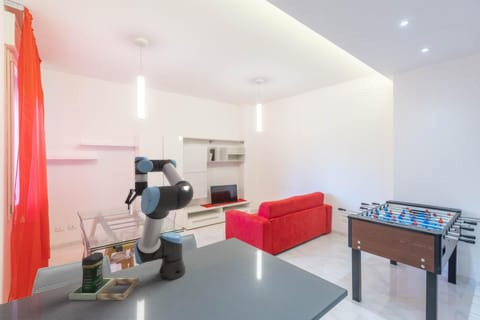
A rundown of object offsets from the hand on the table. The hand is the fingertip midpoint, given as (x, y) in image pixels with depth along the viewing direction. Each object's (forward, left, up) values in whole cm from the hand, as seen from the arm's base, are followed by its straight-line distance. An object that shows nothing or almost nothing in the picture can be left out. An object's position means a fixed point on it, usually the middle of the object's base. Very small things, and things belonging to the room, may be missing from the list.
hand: (141, 214), depth 141 cm
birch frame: (0, +26, -33) cm, 42 cm away
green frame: (+14, +26, -33) cm, 44 cm away
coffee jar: (+13, +26, -33) cm, 44 cm away
